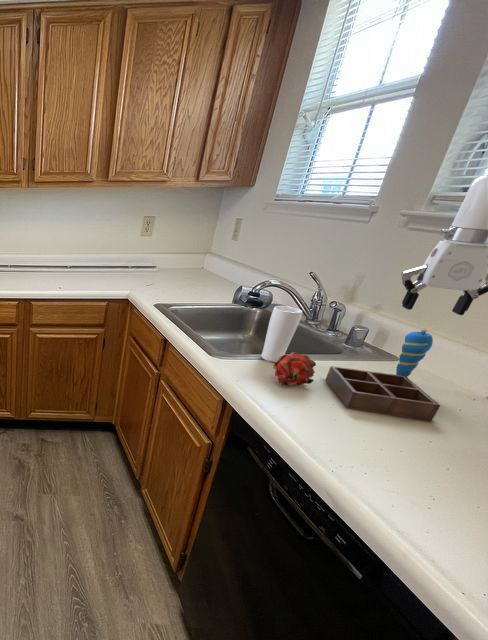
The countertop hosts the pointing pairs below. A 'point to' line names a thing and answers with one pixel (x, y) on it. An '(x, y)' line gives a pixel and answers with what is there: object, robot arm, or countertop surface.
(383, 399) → the divided tray
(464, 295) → the robot arm
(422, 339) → the ornament
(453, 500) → the countertop surface
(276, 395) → the countertop surface
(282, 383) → the dragon fruit
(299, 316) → the drinking glass
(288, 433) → the countertop surface
